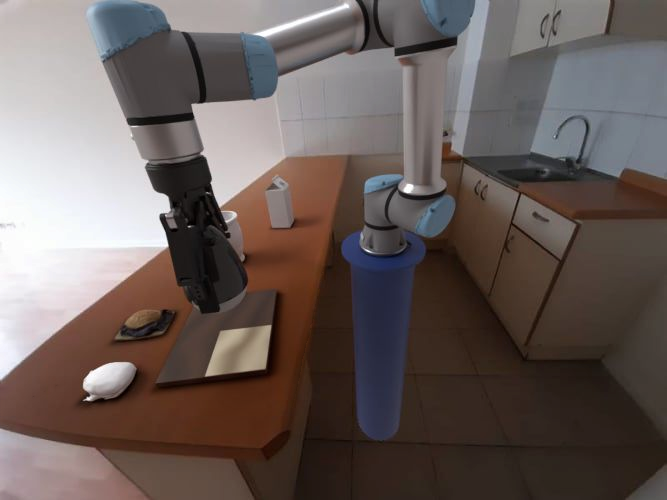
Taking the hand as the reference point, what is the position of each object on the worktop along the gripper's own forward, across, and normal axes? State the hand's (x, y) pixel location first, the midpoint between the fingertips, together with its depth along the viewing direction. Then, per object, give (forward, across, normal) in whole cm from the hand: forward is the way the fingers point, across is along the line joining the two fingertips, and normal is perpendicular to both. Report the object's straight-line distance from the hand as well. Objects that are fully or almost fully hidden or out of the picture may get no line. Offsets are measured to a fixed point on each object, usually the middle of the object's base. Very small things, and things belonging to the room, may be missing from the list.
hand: (220, 289), depth 48 cm
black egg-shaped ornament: (+3, 0, 0) cm, 3 cm away
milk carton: (+16, -62, +5) cm, 64 cm away
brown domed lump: (+17, -12, -24) cm, 32 cm away
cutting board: (+16, -6, -4) cm, 18 cm away
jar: (+17, -38, -10) cm, 42 cm away
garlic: (+17, +4, -23) cm, 29 cm away
